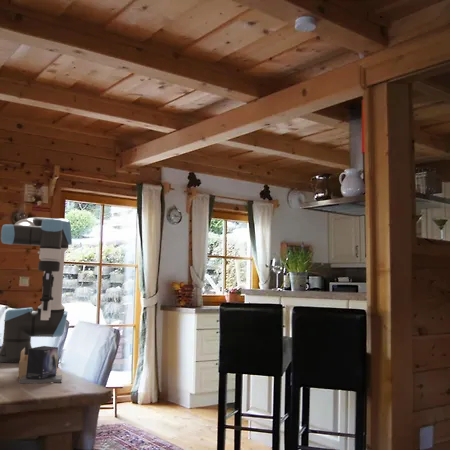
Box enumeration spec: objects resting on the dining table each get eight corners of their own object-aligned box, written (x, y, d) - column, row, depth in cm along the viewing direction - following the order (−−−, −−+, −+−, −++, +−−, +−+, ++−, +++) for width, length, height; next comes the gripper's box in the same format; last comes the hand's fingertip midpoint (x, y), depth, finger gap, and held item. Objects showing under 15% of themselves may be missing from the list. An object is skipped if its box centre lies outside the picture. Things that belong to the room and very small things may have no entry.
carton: (22, 370, 219) (24, 347, 220) (56, 370, 222) (58, 347, 223) (18, 377, 201) (20, 352, 202) (55, 377, 204) (56, 352, 205)
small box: (42, 380, 191) (44, 349, 192) (25, 378, 192) (27, 348, 193) (57, 375, 201) (59, 346, 202) (40, 374, 202) (42, 345, 204)
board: (21, 378, 199) (22, 375, 200) (61, 378, 203) (62, 374, 203) (19, 383, 190) (19, 379, 190) (61, 382, 193) (61, 379, 194)
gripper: (40, 261, 214) (37, 316, 211) (36, 258, 190) (32, 321, 187) (60, 262, 216) (57, 316, 213) (59, 259, 192) (55, 321, 189)
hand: (45, 318), depth 200 cm, fingers open, 13 cm apart
